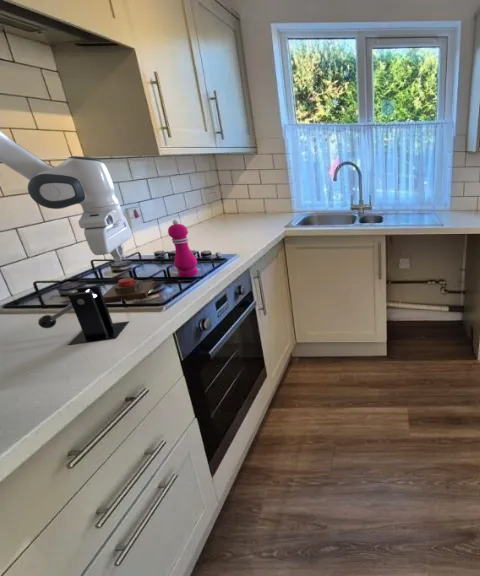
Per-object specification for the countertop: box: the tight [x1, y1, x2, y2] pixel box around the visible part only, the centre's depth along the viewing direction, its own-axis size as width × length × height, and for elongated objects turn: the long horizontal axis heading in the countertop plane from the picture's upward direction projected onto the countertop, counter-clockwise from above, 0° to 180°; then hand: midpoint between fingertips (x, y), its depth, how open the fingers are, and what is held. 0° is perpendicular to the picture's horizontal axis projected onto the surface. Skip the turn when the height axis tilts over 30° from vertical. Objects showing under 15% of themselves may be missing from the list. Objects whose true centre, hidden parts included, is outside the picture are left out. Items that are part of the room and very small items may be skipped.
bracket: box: [67, 284, 130, 346], centre depth 89 cm, size 10×9×13 cm
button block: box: [102, 279, 157, 304], centre depth 114 cm, size 12×10×4 cm
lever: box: [37, 289, 97, 329], centre depth 87 cm, size 14×3×3 cm, turn 104°
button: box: [117, 277, 135, 287], centre depth 113 cm, size 4×4×2 cm
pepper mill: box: [167, 219, 199, 278], centre depth 127 cm, size 7×7×20 cm
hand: (120, 260), depth 110 cm, fingers closed
